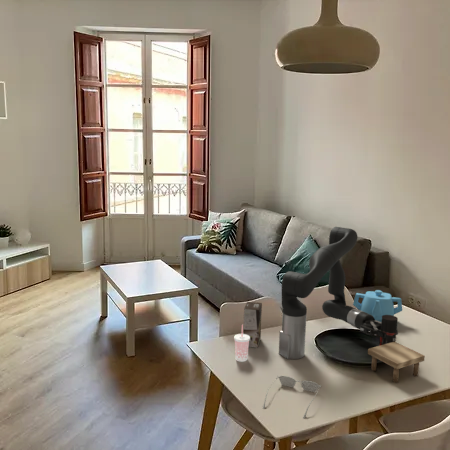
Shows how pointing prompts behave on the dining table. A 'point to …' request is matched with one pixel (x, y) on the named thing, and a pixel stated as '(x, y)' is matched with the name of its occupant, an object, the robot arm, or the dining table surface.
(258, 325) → the coffee box
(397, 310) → the teapot
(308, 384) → the eyeglasses
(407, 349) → the stool
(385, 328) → the deodorant
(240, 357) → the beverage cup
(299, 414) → the dining table surface
